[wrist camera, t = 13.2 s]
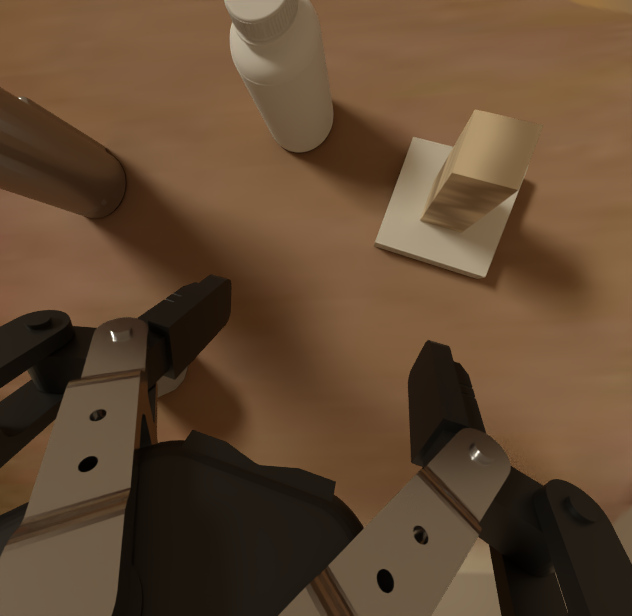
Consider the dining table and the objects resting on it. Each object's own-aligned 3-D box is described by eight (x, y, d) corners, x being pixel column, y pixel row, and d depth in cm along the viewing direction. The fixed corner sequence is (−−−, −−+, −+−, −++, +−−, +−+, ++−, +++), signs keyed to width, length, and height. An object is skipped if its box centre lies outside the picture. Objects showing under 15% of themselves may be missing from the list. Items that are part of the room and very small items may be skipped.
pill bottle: (296, 77, 35) (248, -93, 20) (347, 112, 34) (337, -40, 19) (257, 132, 36) (184, 7, 21) (307, 167, 35) (267, 63, 20)
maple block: (419, 220, 31) (452, 172, 20) (434, 180, 30) (475, 109, 20) (461, 232, 30) (518, 190, 19) (476, 191, 30) (543, 125, 19)
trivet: (374, 246, 33) (375, 242, 31) (410, 147, 33) (413, 136, 31) (477, 279, 32) (485, 277, 30) (517, 175, 31) (528, 166, 29)
